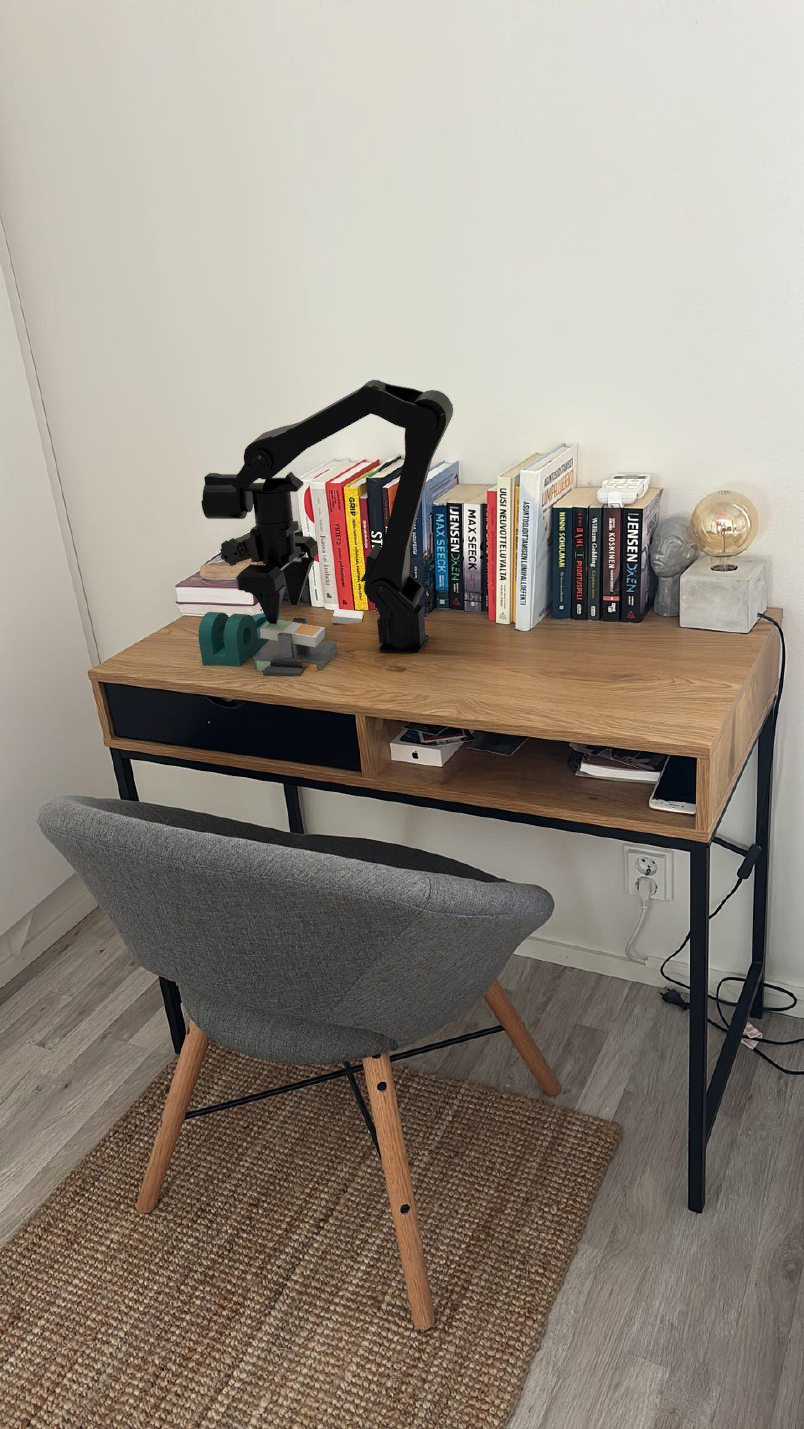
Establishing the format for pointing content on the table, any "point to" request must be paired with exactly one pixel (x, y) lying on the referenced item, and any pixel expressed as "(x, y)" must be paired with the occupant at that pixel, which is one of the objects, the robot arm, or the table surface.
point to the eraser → (347, 616)
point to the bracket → (230, 638)
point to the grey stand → (294, 653)
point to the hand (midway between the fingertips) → (284, 614)
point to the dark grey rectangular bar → (282, 671)
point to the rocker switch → (294, 632)
